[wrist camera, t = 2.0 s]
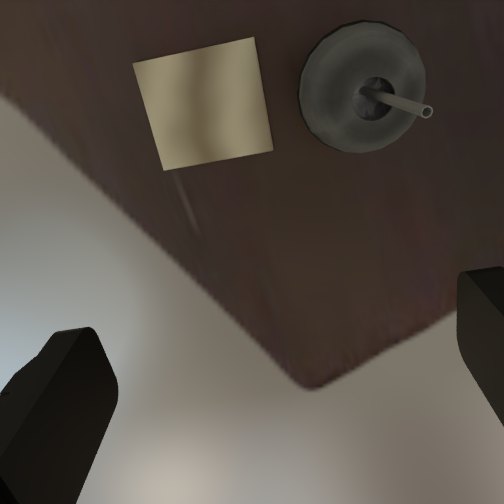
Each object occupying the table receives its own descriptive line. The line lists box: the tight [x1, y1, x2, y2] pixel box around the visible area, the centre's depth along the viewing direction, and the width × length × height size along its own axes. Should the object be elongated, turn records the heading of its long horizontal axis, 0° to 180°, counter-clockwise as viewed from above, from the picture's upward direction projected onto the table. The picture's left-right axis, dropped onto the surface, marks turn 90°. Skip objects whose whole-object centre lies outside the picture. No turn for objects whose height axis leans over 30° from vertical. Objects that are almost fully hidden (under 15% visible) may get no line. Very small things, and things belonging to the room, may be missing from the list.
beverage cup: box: [297, 20, 433, 153], centre depth 26 cm, size 7×7×20 cm
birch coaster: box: [133, 37, 273, 170], centre depth 36 cm, size 10×9×1 cm
